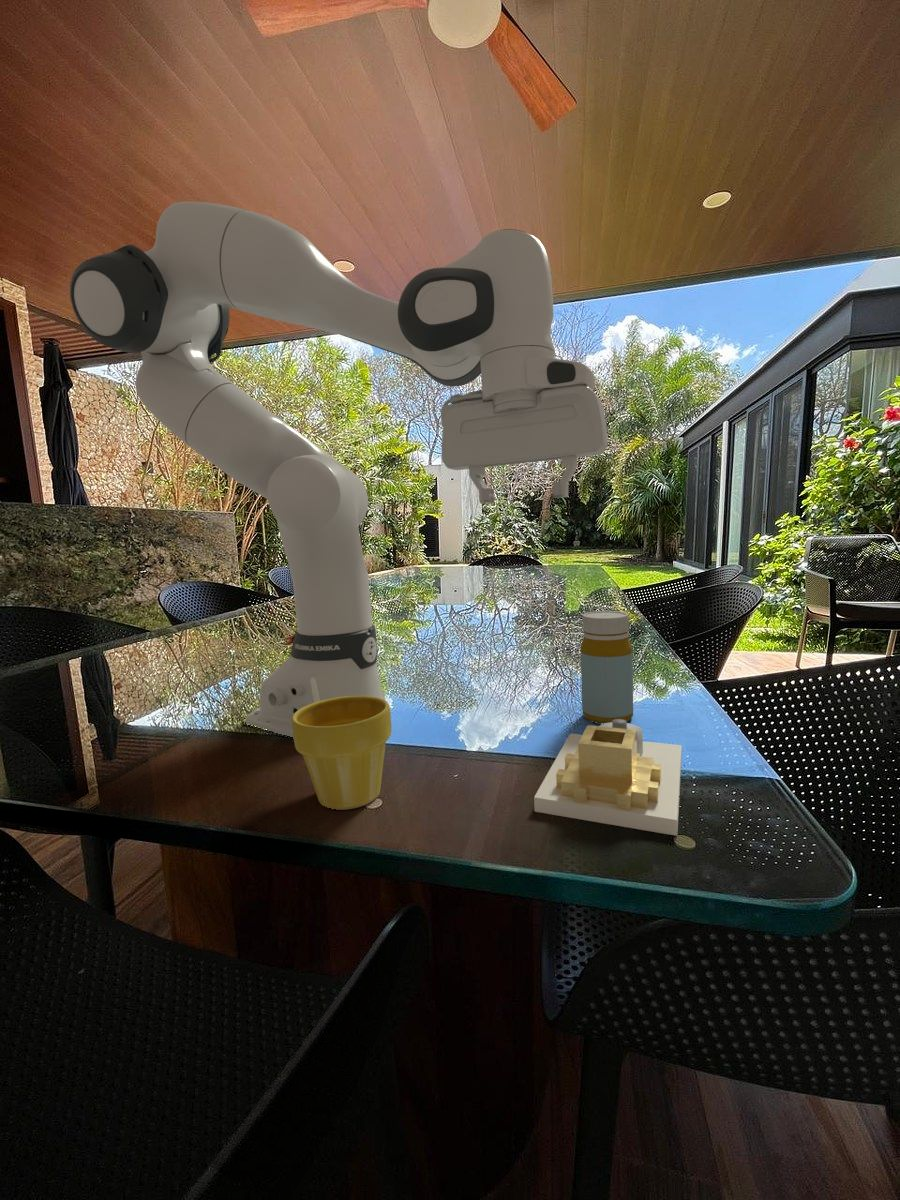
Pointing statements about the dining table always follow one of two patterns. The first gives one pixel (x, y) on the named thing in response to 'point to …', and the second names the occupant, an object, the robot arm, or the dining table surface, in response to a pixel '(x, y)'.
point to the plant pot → (344, 748)
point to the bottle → (606, 667)
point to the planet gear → (610, 770)
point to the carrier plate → (652, 819)
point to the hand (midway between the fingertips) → (523, 500)
